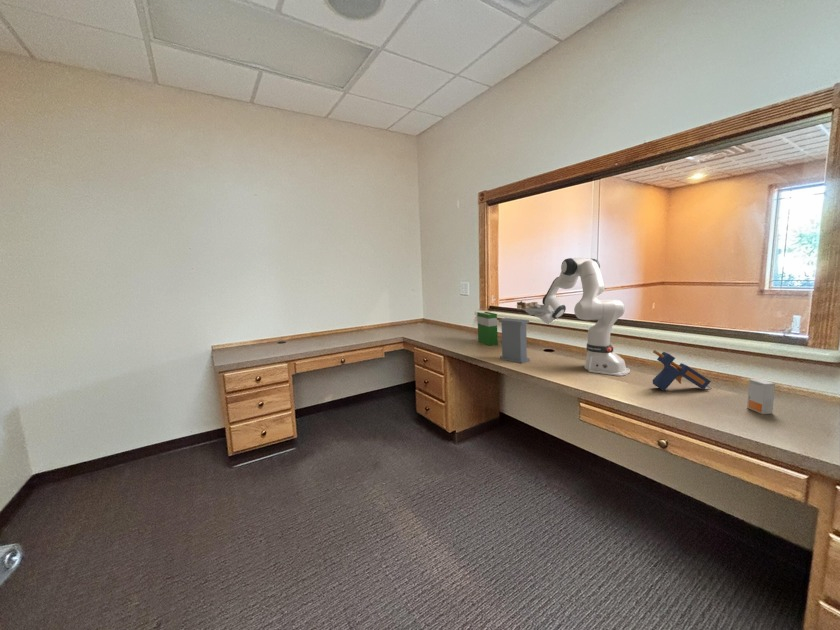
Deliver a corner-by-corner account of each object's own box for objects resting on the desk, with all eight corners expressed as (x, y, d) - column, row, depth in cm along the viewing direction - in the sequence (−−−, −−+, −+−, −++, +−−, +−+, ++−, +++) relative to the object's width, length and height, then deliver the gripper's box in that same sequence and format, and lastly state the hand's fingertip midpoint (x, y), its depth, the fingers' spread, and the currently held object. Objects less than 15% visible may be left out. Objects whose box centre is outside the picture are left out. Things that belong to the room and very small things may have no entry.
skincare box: (746, 408, 135) (748, 378, 133) (756, 407, 135) (758, 378, 134) (762, 414, 129) (765, 384, 127) (773, 413, 129) (776, 383, 128)
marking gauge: (532, 305, 234) (532, 298, 234) (539, 305, 231) (539, 298, 230) (515, 308, 222) (515, 301, 221) (522, 309, 218) (521, 301, 217)
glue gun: (695, 411, 157) (718, 386, 154) (641, 376, 155) (663, 349, 152) (685, 405, 163) (707, 380, 160) (633, 371, 161) (655, 345, 158)
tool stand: (529, 360, 216) (529, 320, 213) (522, 363, 211) (521, 321, 208) (507, 356, 229) (506, 318, 226) (499, 358, 224) (498, 319, 221)
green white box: (478, 341, 278) (477, 312, 275) (486, 340, 280) (485, 311, 277) (489, 346, 262) (488, 314, 258) (497, 344, 264) (496, 313, 261)
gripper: (554, 317, 229) (544, 309, 221) (527, 315, 245) (517, 307, 236) (557, 308, 230) (547, 300, 222) (530, 306, 246) (520, 299, 238)
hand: (531, 303), depth 229 cm, fingers closed on marking gauge, 2 cm apart
